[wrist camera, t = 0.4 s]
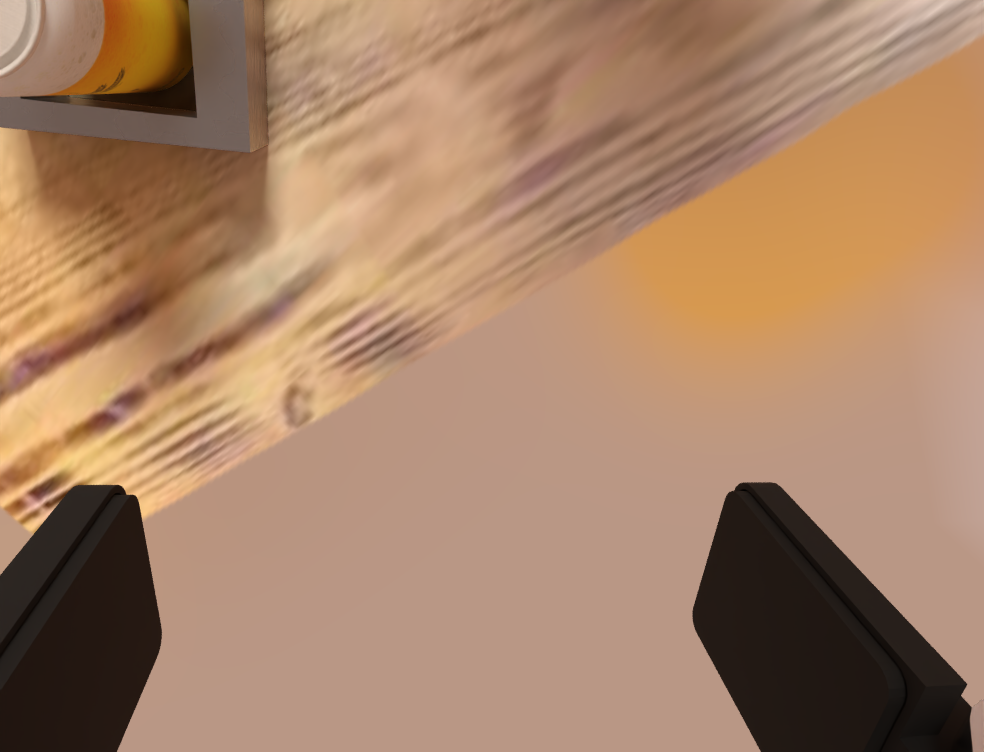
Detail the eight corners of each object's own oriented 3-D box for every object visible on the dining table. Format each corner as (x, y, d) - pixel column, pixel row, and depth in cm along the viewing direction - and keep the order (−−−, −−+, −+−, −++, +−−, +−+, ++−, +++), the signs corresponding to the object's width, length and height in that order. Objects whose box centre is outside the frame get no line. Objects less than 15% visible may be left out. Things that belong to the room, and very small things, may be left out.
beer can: (49, 36, 31) (-227, -1, 17) (103, -80, 29) (-155, -223, 15) (169, 117, 33) (7, 140, 19) (225, 12, 31) (91, -42, 18)
